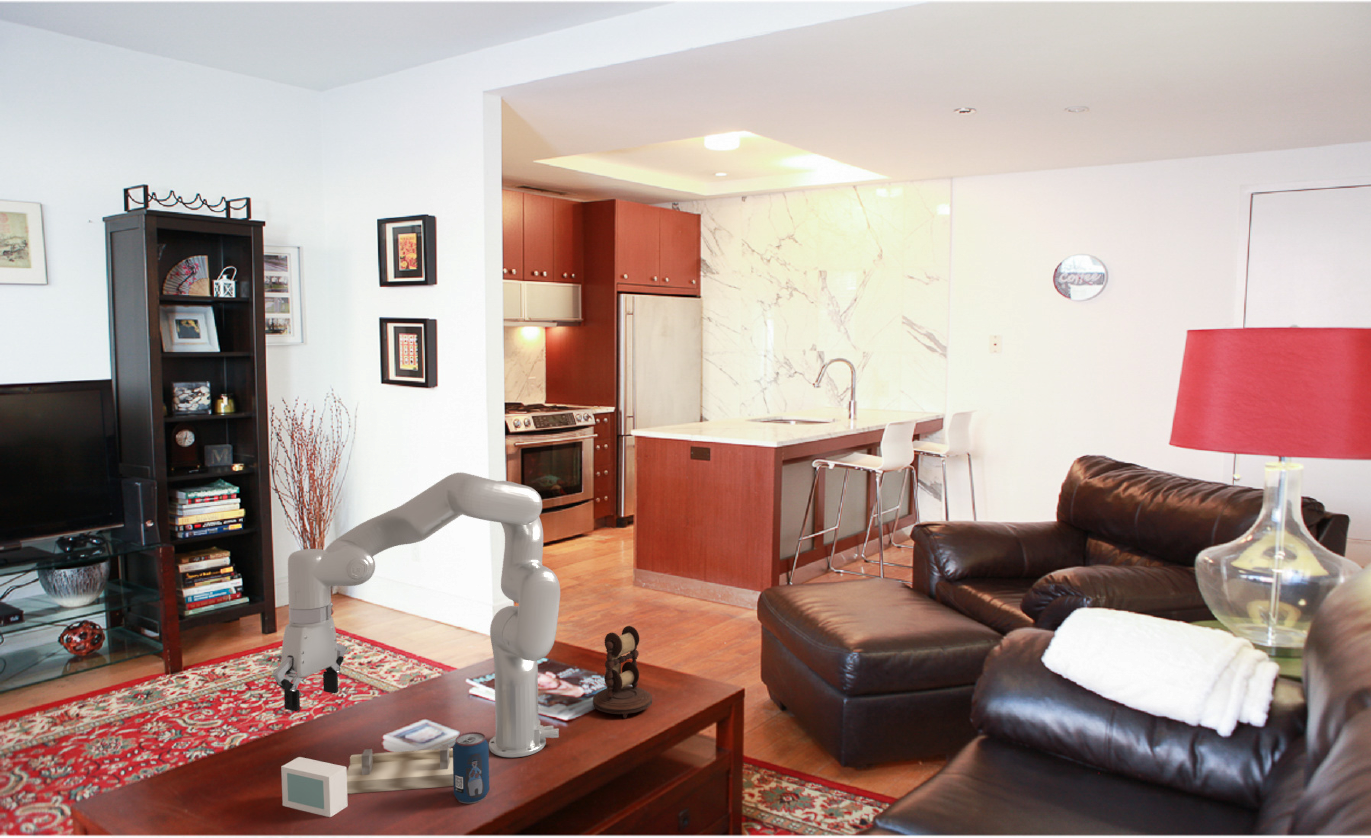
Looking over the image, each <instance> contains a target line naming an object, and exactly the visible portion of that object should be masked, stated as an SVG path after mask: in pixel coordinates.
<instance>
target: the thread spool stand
mask: <svg viewBox="0 0 1371 838" xmlns="http://www.w3.org/2000/svg"><path fill="white" fill-rule="evenodd" d="M639 644H640V634H639V632H638V630H637V629H636V628H635V627H634V626H632V625H627V626H625V627H624V628H623V629H622V631H621V635H618V634H617V633H615V632H608V633H607V634H606V635H605V638H604V647H605V649H606V650H605V652H606V658H605V659H606V661H605V662H604V666H605V667H604V668H605V672H604V683H605V686H606V688H605V689H602V690H600V691H598V692H597V693H596V694H595V695H594V696H593V697H592V706H593V709H594V710H595V711H596V710H598V711H599V712H602V713H605V714H606V713H607V714H612V715H613V714H614V715H622V717H623V719H624V720H625V719H627V717H628V714H634V713H638V712H642V711H644V710H646V709H648V708H649V707H650V706H651V705H652V703H653V696H652V694H651V693H650V692H649V691H647V690H645V689H644V688H641V687H638V685H639V683H638V682H639V679H640V670H639V669H638V662H637V660H638V657H639V655H640V653H639V650H637V649H638V646H639ZM627 660H632V661H627ZM622 664H623V665H622Z"/></svg>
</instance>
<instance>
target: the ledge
mask: <svg viewBox="0 0 1371 838" xmlns="http://www.w3.org/2000/svg"><path fill="white" fill-rule="evenodd" d="M346 771H347V795H348V794H362V793H375V792H390V791H403V790H404V791H405V790H415V789H417V790H418V789H429V788H430V789H431V788H442V787H446V788H447V787H453V747H451V748H450V743H444V744H443V743H442V744H441V746H440V748H435V749H434V748H433V749H420V750H419V749H418V750H405V751H388V752H377V753H376V752H375V753H373V748H370V749H369V748H367V749H364V750H363V752H362V753H360V754H359V753H358V754H351V755H350V757H349V766H348V768H347V769H346Z"/></svg>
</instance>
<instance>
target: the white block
mask: <svg viewBox="0 0 1371 838" xmlns="http://www.w3.org/2000/svg"><path fill="white" fill-rule="evenodd" d="M280 768H281V770H280V771H281V772H280V773H281V793H282V794H281V795H282V806H283V807H286V808H291V809H293V810H298V811H302V812H306V813H311V814H316V815H319V816H324V817H327V818H331V817H333V816H334V815H336V814H338V813H340V812H341V811H342V810H344V809H346V808H348V794H347V766H345V765H339V764H336V763H334V764H333V763H331V762H326V761H325V762H324V761H321V760H315V759H311V758H307V757H306V758H305V757H302V756H298V757H296V758H293V760H291V761H289V762H287V763H285V764H283V765H281V767H280Z"/></svg>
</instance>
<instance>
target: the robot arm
mask: <svg viewBox="0 0 1371 838" xmlns="http://www.w3.org/2000/svg"><path fill="white" fill-rule="evenodd" d="M542 511H543V500H542V496H541V495H540V493H538V491H536V490H535V489H534V488H533V487H531V486H528V485H524V484H520V483H516V482H515V481H514V482H513V481H510V480H509V481H508V480H494V479H491V478H490V479H489V478H487V477H482V476H479V475H474V474H471V473H467V472H454V473H450V474H449V475H447V476H445V477H444V478H442V479H440V480H439V481H438V482H436V483H434V484H433V485H431V486H430V487H428V488H427V489H425V490H424V491H422V492H420V493H419V494H417V495H416V496H414V497H412V498H411V499H409V500H408V501H406V502H405V503H403V504H401V505H399V506H397V507H396V508H392V509H391V510H388V511H386V512H384V513H382V514H379V515H377V516H375V517H372V518H369V519H368V520H366V521H363V522H362V523H359V524H358V525H356V526H354V527H353V528H351V529H350V530H348V531H346V532H345V533H343V534H342V535H340V536H339V537H337V538H336V539H335V540H333V541H331V542H330V543H329V545H328V546H326V548H325V549H322V548H306V549H300V550H296V551H294V552H291V554H290V555H289V556H288V559H287V583H288V586H287V587H288V624H286V625H285V628H284V632H283V639H282V647H281V649H282V650H281V663H280V664H279V666H278V667H277V668H276V669H274V671H273V672H272V676H273V678H274V681H275V682H276V685H277V686H279V688H281V690H282V691H283V690H284V691H283V692H284V693H283V695H284V710H288V711H291V712H297V711H298V712H299V711H300V709H301V705H300V704H301V703H300V701H301V700H300V699H301V696H300V689H298V687H299V684H300V683H301V681H302V679H304V678H307V677H309V676H312V675H314V674H316V673H319V672H321V671H323V673H322V678H323V679H322V682H323V683H322V684H323V686H322V687H323V692H325V693H329V694H337V693H338V692H339V676H338V674H339V673H340V671H341V665H342V663H343V662H344V659H345V658H344V657H345V654H346V650H347V646H346V645H345V644H344V645H343V644H340V643H337V642H338V641H337V632H336V626H335V622H334V618H333V616H332V608H333V605H334V603H333V602H332V590H331V587H354V586H355V587H357V586H359V585H360V586H361V585H363V584H365V583H366V582H368V581H369V580H370V579H371V578H372V577H373V575H374V573H375V572H376V571H375V570H376V561H375V558H374V556H376V555H378V554H379V553H382V552H383V551H386V550H388V549H391V548H394V547H397V546H405V545H410V544H414V543H418V542H419V543H420V542H422V541H424V540H426V539H428V538H429V537H431V536H432V535H433V534H435V533H436V532H438V531H439V530H441V529H443V528H444V527H446V526H447V525H448V524H450V523H451V522H453V521H455V520H456V519H457V518H459V517H460V516H462V515H464V516H466V517H470V518H472V519H479V520H483V521H489V522H495V523H499V524H501V526H502V529H503V532H504V549H503V550H504V551H503V559H502V570H501V577H500V590H501V593H502V594H503V595H504V596H505V597H506V598H507V599H509V600H511V601H512V602H514V603H517V604H518V605H508V606H505V607H502V608H501V609H499V610H498V611H497V612H496V613H495V614H494V615H493V618H492V620H491V624H490V629H489V634H490V635H489V636H490V643H491V649H492V655H493V665H494V667H493V668H494V702H495V703H494V709H495V712H494V713H495V735H494V736H493V737H491V738H490V740H489V742H488V746H489V752H491V753H492V754H493V755H496V756H498V757H503V758H520V757H521V758H522V757H527V756H530V755H533V754H536V753H538V752H540V751H541V750H543V748H544V747H545V746H546V744H547V741H546V740H547V739H549V738H551V739H554V738H556V739H557V738H559V737H560V736H559V735H560V734H559V733H560V732H559V730H560V729H559V727H558V728H554V725H547V726H546V725H545V726H544V725H543V724H542V725H541V719H539V679H538V678H539V674H538V673H539V669H538V666H539V665H538V661H541V660H542V659H544V658H545V657H547V656H548V654H549V653H550V652H551V651H552V649H553V646H554V644H555V640H556V636H557V628H558V619H559V611H560V603H561V585H560V581H559V578H558V576H557V575H556V573H555V572H554V571H553V570H552V569H550V568H549V567H547V566H545V565H543V556H544V555H543V554H544V553H543V552H544V529H543V524H542V520H541V518H540V515H541V514H542ZM292 679H293V680H292ZM546 738H547V739H546Z"/></svg>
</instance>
